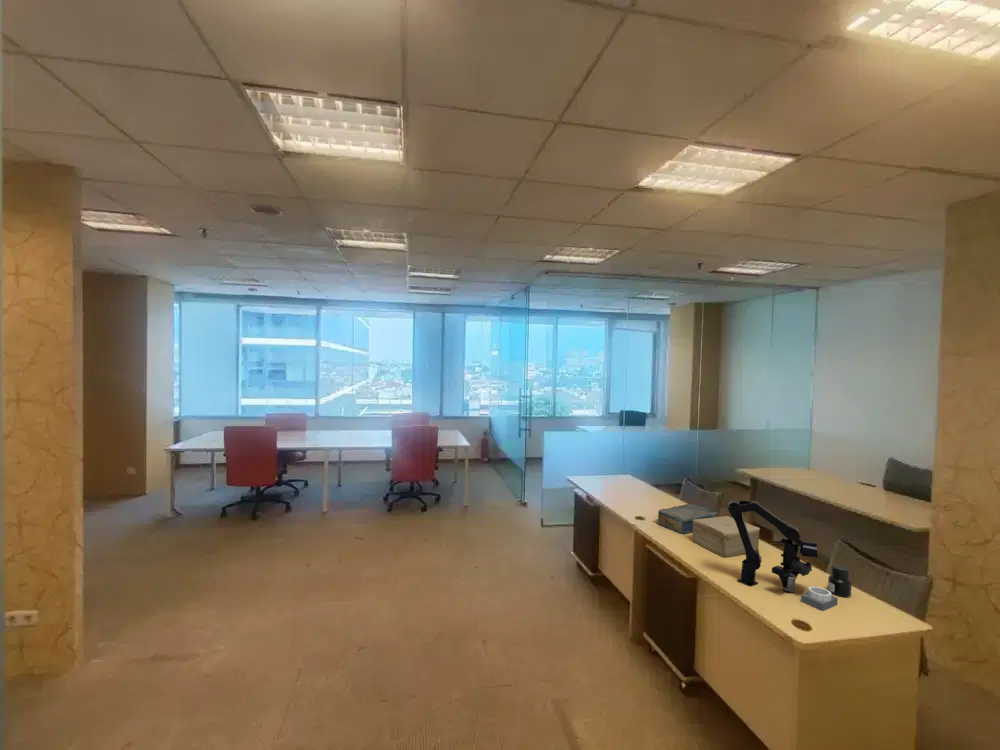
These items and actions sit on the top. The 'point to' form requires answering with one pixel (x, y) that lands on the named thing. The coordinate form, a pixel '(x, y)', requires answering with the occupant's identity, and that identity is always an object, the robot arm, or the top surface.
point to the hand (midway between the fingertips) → (788, 586)
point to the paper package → (722, 535)
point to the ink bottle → (840, 581)
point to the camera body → (819, 598)
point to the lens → (790, 583)
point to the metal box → (683, 517)
